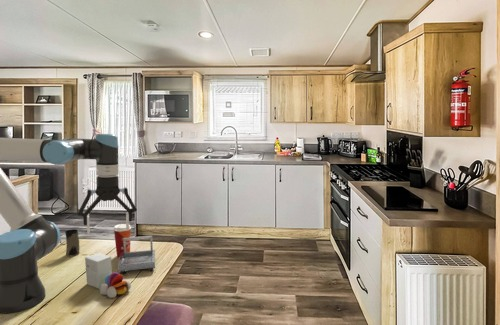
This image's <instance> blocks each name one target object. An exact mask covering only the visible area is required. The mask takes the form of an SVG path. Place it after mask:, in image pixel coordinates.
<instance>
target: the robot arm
mask: <svg viewBox="0 0 500 325" xmlns="http://www.w3.org/2000/svg"><path fill="white" fill-rule="evenodd" d="M79 160H95V166H96V167H95V169H96V189H91V188H88V189H87V191H86V195H85V198H84V199H83V202H82V203H81V205H80V207H79V209H78V211H77V215H78V217H79V216H80V217H83V218H82V220H83V225H84V226H86V230H87V232H86V234H87V235H90V234H91V233H90V213H91V212H92V211H93V210H94V208H96V206H97V205H98V204H99V203H100V202H101V201H102V202H107V201H110V202H113V201H116V202H117V203H118V204H120V205H121V207H123V209H125V211H126V212H125V220H126V221H125V224H126V230H127V231H129V225H130V222H132V221H133V213H134V212H138V211H137V210H138V209H137V207H136V205H135V202H133V199H132V198H131V196H130V194H129V191H128V188H127V187H126V186H125V187H121V188H120V186H119V182H120V181H119V178H120V177H119V176H118V175H119V140H118V135H117V134H115V133H97V134H95V138H77V137H76V138H74V137H69V138H68V137H67V138H63V139H45V138H43V139H39V138H20V137H19V138H17V137H16V138H14V137H0V162H25V163H26V162H27V163H29V162H31V163H49V164H52V165H64V164H66V163H70V162H75V161H79ZM120 193H122V195H124V196H125V198H126V200H127V202H128V203H129V205H130V207H131V208H130V207H129V206H128V205H127V204H126V203H125V202H124V200H122V198H120V196H118V195H119V194H120ZM95 194H96V196H97V197H96V198H95V199H94V201H93V202H91V204H90V205H89V206H88V208H87V209H86V210H85V208H86V207H87V204H89V203H88V202H90V199H91V196H93V195H95ZM0 216H1V217H2V218H3V219H4V221H5V222H6V224H8V226H9V227H10V229H9V231H7V232H4V233H2V234H0V314H12V313H17V312H21V311H24V310H28V309H31V308H32V307H34V306H37V305H38V304H40V303H41V302H43V300H45V298H46V289H45V286H44V284H43V283H42V280H41V278H40V276H39V270H38V261H39V260H41V259H42V258H43V257H45V256H46V255H47V254H49V253H51V252H52V251H53V250H54V249H56V248H57V246H58V245H59V243H60V241H61V231H60V230H61V229H60V228H59V226H58V225H57V224H55V222H53V221H49V220H46V219H45V218H44V216H43V215H42V214H36V213H35V212H34V211H33V210H32V208H31V207H30V205H29V204H28V203H27V201H26V200H25V199H24V197H23V196H22V195H21V193H20V192H19V190H18V189H17V188H16V187H15V185H14V184H13V183H12V181H11V180H10V178H9V176H8V175H6V172H4V170H3V168H1V167H0Z"/></svg>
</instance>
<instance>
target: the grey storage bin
mask: <svg viewBox="0 0 500 325" xmlns="http://www.w3.org/2000/svg"><path fill="white" fill-rule="evenodd" d="M149 239H150V240H149ZM128 240H130V241H139V240H149V241H150V249H149V250H137V251H136V250H134V251H130V252H126V241H128ZM123 243H124V253H121V257H120V258H119V261H118V264H117V271H118V272H119V275H125V274H126V271H135V270H145V269H146V270H147V269H148V271H149V272H152V271H154V269H155V268H156V250H155V249H154V248H153V247H154V246H153V235H145V236H144V235H143V236H134V237H130V238H123Z"/></svg>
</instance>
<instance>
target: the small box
mask: <svg viewBox="0 0 500 325" xmlns="http://www.w3.org/2000/svg"><path fill="white" fill-rule="evenodd" d="M84 260H85V262H84V264H85V277H86V284H87V285H88V286H91V287H94V288H96V289H99V290H100V286H101V285H102V284H104V283H105V278H106V276H107V275H110V274H112V273H113V272H112V257H111V256H109V255H106V254H103V253H100V252H97V253H94V254H92V255H88V256H85V257H84Z"/></svg>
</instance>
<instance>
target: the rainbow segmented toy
mask: <svg viewBox="0 0 500 325" xmlns="http://www.w3.org/2000/svg"><path fill="white" fill-rule="evenodd" d="M123 275H124V274H120V273H118V272H116V271H115V272H112V274H110V275H107V276H106V278H105V283H104V284H102V285H101V286H100V289H99V293H100V294H101V295H103V296H107V297H108V298H110V299H114V298H116V297H117V295H124V294H125V293H128V292H129V291H130V290H131V288H132V284H131V281H130V280H123V279H124V276H123Z"/></svg>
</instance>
